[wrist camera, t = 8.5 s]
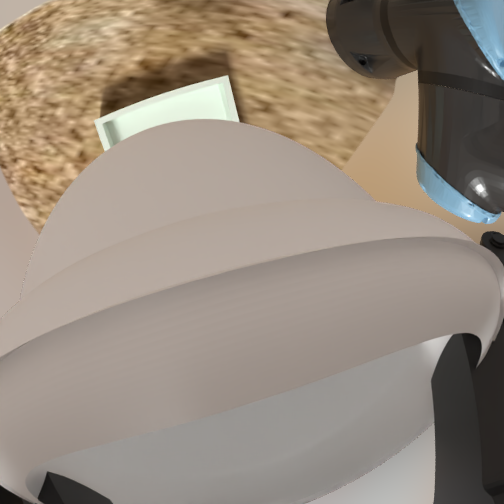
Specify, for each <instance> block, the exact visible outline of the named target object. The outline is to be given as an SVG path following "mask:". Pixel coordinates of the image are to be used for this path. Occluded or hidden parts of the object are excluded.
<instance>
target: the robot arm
mask: <svg viewBox="0 0 504 504" xmlns="http://www.w3.org/2000/svg"><path fill="white" fill-rule="evenodd" d="M327 28H328V33H329V36H330V39H331V42H332V44H333V46H334V48H335V50H336V51H337V53H338V54H339V56H340V57H341V58H342V60H343V61H344V62H345V63H346V64H347V65H348V66H349V67H350V68H352V69H353V70H354V71H356V72H357V73H359V74H361V75H363V76H366V77H369V78H376V79H392V78H396V77H399V76H401V75H404V74H407V73H410V72H413V71H416V70H418V87H419V119H418V142H417V143H416V152H417V171H416V173H417V179H418V182H419V184H420V186H421V188H422V189H423V190H424V191H425V192H426V193H427V195H428V196H429V197H430V198H431V199H432V200H433V201H435V202H436V203H437V204H438V205H440V206H441V207H443V208H444V209H446V210H448V211H449V212H451V213H453V214H455V215H457V216H459V217H461V218H464V219H466V220H469V221H472V222H476V223H480V222H481V221H482V222H483V223H485V224H490V223H493V222H495V221H496V220H497V219H498V218H499V217H500V215H501V211H502V212H504V0H331V1H330V3H329V6H328V10H327ZM444 86H446V87H444ZM450 87H451V88H450ZM455 88H456V89H455ZM464 90H465V91H464ZM499 99H500V100H499ZM480 245H481V246H483V247H485V248H487V249H489V250H490V251H491V252H493V253H494V254H495V255H496V256H497V257H498V258H499V260H500V261H501V263H502V264H503V266H504V235H502V234H501V233H499V232H494V231H490V232H485V233H484V234H483V235H482V237H481V241H480ZM481 352H482V343H481V340H480V338H479V337H478V336H476V335H474V334H471V333H458V334H453V335H452V336H451V338H450V339H449V341H448V342H447V344H446V346H445V347H444V349H443V351H442V353H441V355H440V357H439V360H438V362H437V365H436V367H435V370H434V373H433V376H432V378H431V388H432V397H433V408H434V423H435V449H436V450H435V451H436V466H435V469H436V471H435V493H434V503H433V504H504V318H503V322H502V324H501V327H500V330H499V332H498V334H497V337H496V339H495V341H492V342H491V345H490V347H489V349H488V351H487V353H486V355H485V357H484V358H483V360H482V361H481V363H480V364H479V365H478V366H477V364H478V362H479V359H480V356H481ZM37 499H38V500H39V501H40V502H42V503H43V504H113V503H112V501H111V500H110V499H108V498H106V497H105V496H103V495H101V494H99V493H98V492H96V491H94V490H92V489H90V488H89V487H87V486H85V485H83V484H80V483H78V482H76V481H74V480H72V479H70V478H67V477H65V476H62V475H59V474H55V473H52V472H48V471H47V473H46V477H45V480H44V483H43V486H42V488H41V491H40V493H39V496H38V498H37ZM0 504H33V503H31V502H29V501H27V500H25V499H23V498H21V497H19V496H17V495H15V494H14V493H12V492H10V491H9V490H7V489H5V488H4V487H2V486H1V485H0ZM35 504H37V503H35Z"/></svg>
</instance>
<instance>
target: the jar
mask: <svg viewBox="0 0 504 504" xmlns="http://www.w3.org/2000/svg"><path fill="white" fill-rule="evenodd" d="M503 318H504V266H503V264H502V263H501V261H500V260H499V258H498V257H497V256H496V255H495V254H494V253H493V252H491V251H490V250H489V249H487V248H485V247H483V246H481V245H479V244H477V243H475V242H474V241H473V240H472V239H471V238H470V237H468V236H467V235H466V234H465V233H463V232H462V231H460V230H459V229H457V228H456V227H454V226H453V225H451V224H449V223H448V222H446V221H444V220H442V219H440V218H438V217H436V216H434V215H431V214H429V213H426V212H423V211H420V210H417V209H414V208H410V207H405V206H400V205H396V204H390V203H384V202H376V201H375V200H374V199H373V198H372V197H371V196H370V195H369V194H368V193H367V192H366V191H365V190H364V189H363V188H362V187H361V186H359V185H358V184H357V183H356V182H355V181H354V180H353V179H351V178H350V177H349V176H348V175H346V174H345V173H344V172H343V171H341V170H340V169H339V168H337V167H336V166H335V165H333V164H332V163H330V162H329V161H327V160H326V159H324V158H323V157H321V156H320V155H318V154H317V153H315V152H313V151H312V150H310V149H308V148H307V147H305V146H303V145H301V144H299V143H297V142H295V141H293V140H291V139H289V138H287V137H285V136H282V135H280V134H277V133H275V132H272V131H269V130H266V129H263V128H260V127H257V126H253V125H249V124H245V123H240V122H235V121H228V120H219V119H190V120H181V121H175V122H170V123H165V124H161V125H158V126H154V127H151V128H148V129H146V130H143V131H141V132H138V133H136V134H134V135H132V136H130V137H128V138H126V139H124V140H122V141H120V142H119V143H117V144H116V145H114V146H112V147H111V148H109V149H108V150H107V151H105V152H104V153H103V154H101V155H100V156H99V157H97V158H96V159H95V160H94V161H93V162H92V163H91V164H89V165H88V166H87V167H86V168H85V169H84V170H83V171H82V172H81V173H80V174H79V175H78V177H77V178H76V179H75V180H74V181H73V182H72V183H71V185H70V186H69V187H68V188H67V190H66V191H65V192H64V194H63V195H62V196H61V198H60V199H59V201H58V202H57V204H56V205H55V207H54V209H53V210H52V212H51V214H50V216H49V217H48V219H47V221H46V223H45V225H44V227H43V229H42V231H41V233H40V235H39V238H38V240H37V242H36V245H35V247H34V250H33V253H32V255H31V258H30V261H29V264H28V268H27V271H26V275H25V278H24V282H23V286H22V291H21V296H20V301H19V302H17V303H16V304H15V305H14V306H13V307H12V308H11V309H10V310H9V311H7V312H6V313H5V314H4V315H3V317H2V318H1V319H0V485H1V486H2V487H4V488H5V489H7V490H9V491H10V492H12V493H14V494H15V495H17V496H19V497H21V498H23V499H25V500H27V501H29V502H31V503H33V504H35V503H37V504H43V503H42V502H40V501H39V500H38V499H37V498H38V496H39V493H40V491H41V488H42V486H43V483H44V480H45V477H46V473H47V471H48V472H52V473H55V474H59V475H62V476H65V477H67V478H70V479H72V480H74V481H76V482H78V483H80V484H83V485H85V486H87V487H89V488H90V489H92V490H94V491H96V492H98V493H99V494H101V495H103V496H105V497H106V498H108V499H110V500H111V501H112V503H113V504H305V503H308V502H310V501H313V500H315V499H317V498H320V497H322V496H324V495H326V494H329V493H331V492H333V491H335V490H337V489H339V488H341V487H343V486H345V485H347V484H349V483H351V482H352V481H354V480H356V479H358V478H360V477H361V476H363V475H365V474H367V473H368V472H370V471H371V470H373V469H375V468H376V467H378V466H379V465H381V464H382V463H384V462H385V461H387V460H388V459H390V458H391V457H392V456H394V455H395V454H397V453H398V452H399V451H401V450H402V449H403V448H405V447H406V446H407V445H408V444H410V443H411V442H412V441H414V440H415V439H416V438H417V437H418V436H419V435H421V434H422V433H423V432H424V431H425V430H426V429H427V428H428V427H429V426H431V425H432V424H433V423H434V408H433V397H432V388H431V378H432V376H433V373H434V370H435V367H436V365H437V362H438V360H439V357H440V355H441V353H442V351H443V349H444V347H445V346H446V344H447V342H448V341H449V339H450V338H451V336H452V335H453V334H458V333H471V334H474V335H476V336H478V337H479V338H480V340H481V343H482V352H481V356H480V359H479V362H478V364H477V366H478V365H479V364H480V363H481V361H482V360H483V358H484V357H485V355H486V353H487V351H488V349H489V347H490V345H491V342H492V341H495V339H496V337H497V334H498V332H499V330H500V327H501V324H502V322H503Z"/></svg>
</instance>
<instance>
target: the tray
mask: <svg viewBox="0 0 504 504" xmlns="http://www.w3.org/2000/svg"><path fill="white" fill-rule="evenodd" d="M190 119H219V120H228V121H235V122H239V118H238V114H237V110H236V106H235V102H234V98H233V94H232V90H231V86H230V82H229V78H228V75H227V76H223V77H219V78H215V79H211V80H207V81H203V82H200V83H196V84H192V85H189V86H185V87H182V88H179V89H176V90H172V91H169V92H166V93H163V94H160V95H157V96H154V97H151V98H149V99H146V100H143V101H140V102H138V103H135V104H132V105H130V106H127V107H125V108H122V109H120V110H117V111H115V112H113V113H110V114H108V115H106V116H103V117H101V118H99V119H97V120H94V122H95V125H96V128H97V131H98V134H99V137H100V139H101V142H102V145H103V148H104V150H105V151H107V150H108V149H109V148H111V147H112V146H114V145H116V144H117V143H119V142H120V141H122V140H124V139H126V138H128V137H130V136H132V135H134V134H136V133H138V132H141V131H143V130H146V129H148V128H151V127H154V126H158V125H161V124H165V123H170V122H175V121H181V120H190Z"/></svg>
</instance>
